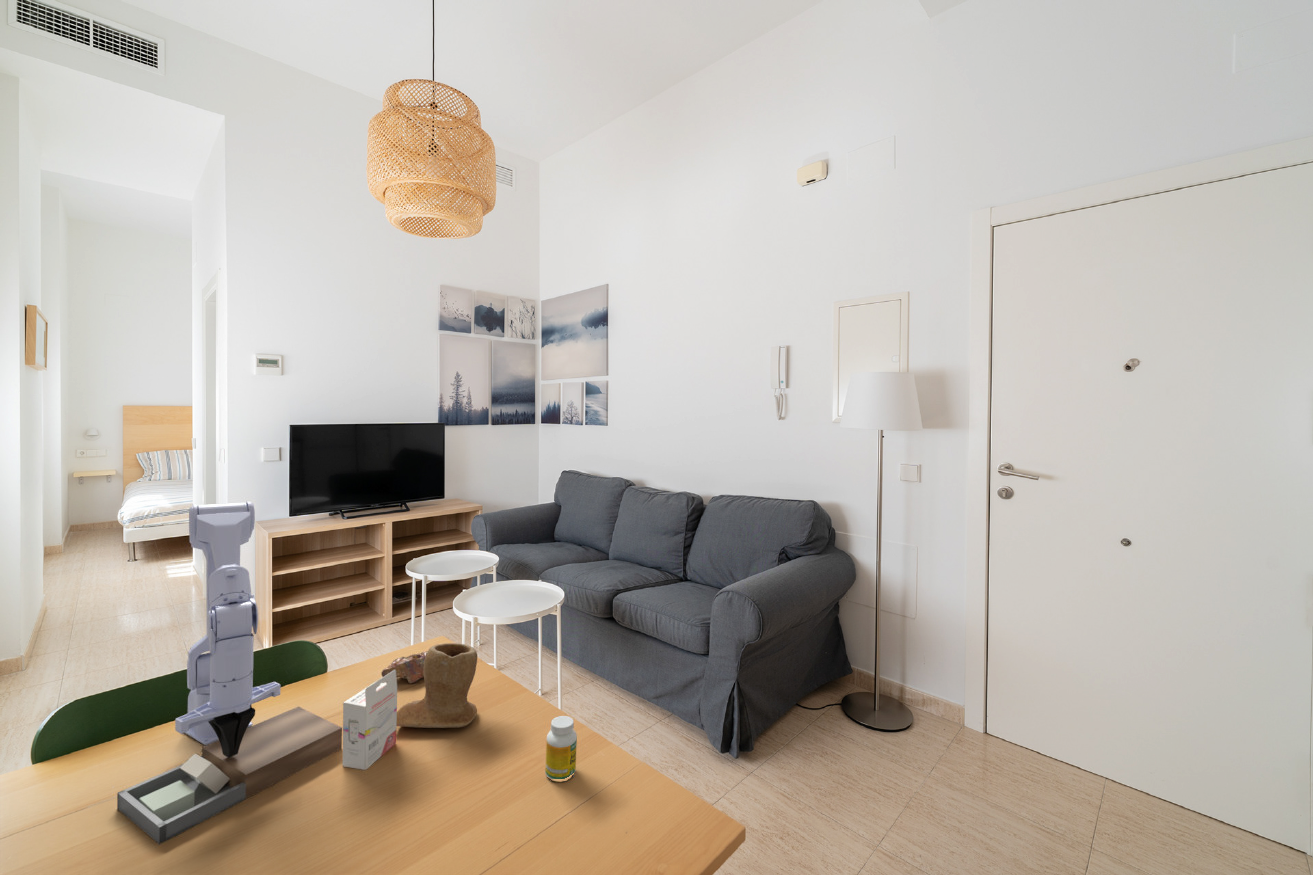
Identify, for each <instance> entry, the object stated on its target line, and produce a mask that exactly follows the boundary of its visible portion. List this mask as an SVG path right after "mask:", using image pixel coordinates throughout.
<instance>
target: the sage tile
mask: <svg viewBox="0 0 1313 875" xmlns="http://www.w3.org/2000/svg"><path fill="white" fill-rule="evenodd" d="M139 802H140V803H141V804H143V805H144V806H145V807H146V808H147V809H149V810H150V811H151V812H152V813H154V814H155V815H156V816H157V817H159V818H160V819H161V820H162V821H166V820H168V819H170V818H172V817H174V816H176V815H178V814H180V813H182V812H184V811H186V810H188V809H190V808H192V807H194V791H193V790H192V789H191V788H189V787H188V786H187V785H186V784H184V783H183V782H182V781H180V780H179V781H177V782H175V783H173V784H170V785H168V786H166V787H164V788H161V789H159V790H157V791H155V792H152V793H150V794H148V795H146V796H143V797H141V798H139Z"/></svg>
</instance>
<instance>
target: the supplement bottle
mask: <svg viewBox="0 0 1313 875" xmlns="http://www.w3.org/2000/svg"><path fill="white" fill-rule="evenodd" d="M574 724H575V722H574V718H572V717H570V716H569V715H559V716H556V717H554V718H553V719H552V720H551V721H550V730H549V731H548V733H547V735H546V744H545V745H546V747H545V749H546V750H545V776H546V775H547V776H546V778H547V777H549V778H550V779H565V778H567V777H569V776H570V775H572V774H573V773H574V772H575V773H576V768H577V767H576V765H577V746H578V745H577V744H578V740H577V739H578V735H577V732H576V730H574V728H575V725H574Z"/></svg>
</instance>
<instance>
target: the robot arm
mask: <svg viewBox="0 0 1313 875" xmlns="http://www.w3.org/2000/svg"><path fill="white" fill-rule="evenodd" d="M188 509H189V510H188V531H189V532H188V534H189V543H190V545H191V546H190V547H191V548H193V549H198V550H202V553H203V555H204V557H205V560H206V568H205V569H206V571H205V572H206V575H205V577H206V634H205V635H204V636H202V638H200V639H199V640H198V641H196V642H195V643H194V644H192V646H190V649H189V650H188V655H187V656H188V657H187V663H186V682H187V689H189V690H190V691H189V693H188V696H187V713H186V714H184V715H181V716H179V717H176V718H175V719H174V720H175V721H174V722H175V724H174V726H175V731H176V732H177V733H179V734H180V735H182V734H186V735H188V736H190V737H191V738H193V739H195V741H197V742H199V743H201V745H202V744H203V745H204V746H207V745H209V744H211V743H214V742H216V741H218V740H219V742H220V744H221V748H222V752H223V755H225V756H226V757H228V758H230V757H232V756H234V755H236V754H238V751H239V748H240V744H241V741H242V738H243V736H244V733H245V731H246V729H247V728H249V727H251V726H254V724H253V723H254V722H252V720H253V719H254V717H255V716H256V708H254V707H252V706H253V705H254V704H255V703H258V702H259V703H260V702H261V701H264V700H266V699H268V698H271V697H273V698H275V697H278V696H281V687H282V686H281V684H280V683H278V682H276V681H273V682H269V683H266V684H261V685H259V686H253V685H254V684H253V683H254V682H253V681H254V640H255V639H254V635H256V634H257V633H258V629H259V628H258V627H259V608H258V605H257V601H256V599H255V595H254V594H252V588H251V580H250V572H249V570H248V569H247V568H245V567H243V566H241V546H242V545H244V544H247V543H248V542H249V540H250V539H251V537H252V534H253V531H254V529H255V522H256V521H255V520H256V519H255V518H256V510H255V506H254V503H252V502H251V501H250V500H249V501H244V502H233V503H232V502H228V503H212V504H208V503H207V504H196V503H195V504H192V506H190V507H189V508H188ZM252 631H253V633H252Z"/></svg>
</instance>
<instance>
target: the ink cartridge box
mask: <svg viewBox="0 0 1313 875" xmlns="http://www.w3.org/2000/svg"><path fill="white" fill-rule="evenodd" d="M397 679H398V678H396V670H393V671H392V672H390V673H389V674H387V675H385V676H384V677H380V678H379V679H377V680H376V681H374V682H372V683H371V684H370V685H368V686H366V687H365V688H363V689H362V690H360V691H359V692H358V693H356V694H354V695H353V696H351V697H350V698H348V699H346V700H345V701H344V702H342V705H343V706H342V710H343V711H342V767H346V768H352V769H356V770H363V771H365V770H367V769H369V768H370V767H371V765H373V764H374V763H375V762H377V760H379V759H381V757H382V756H384V755H385V753H387V752H388V751H389V750H390V749H391V748H393V747H394V746H395V745H396V744H397V726H396V723H397V711H398V710H397V709H398V682H397Z"/></svg>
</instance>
